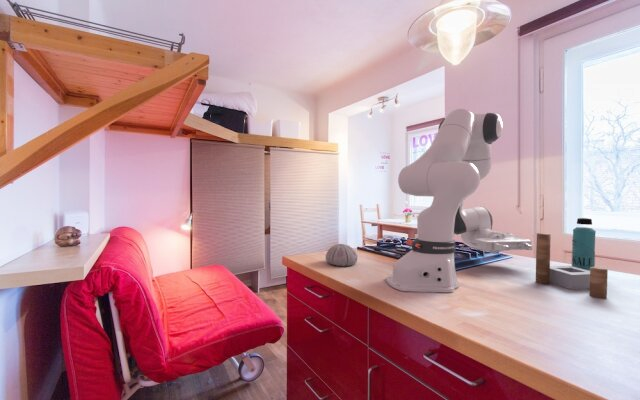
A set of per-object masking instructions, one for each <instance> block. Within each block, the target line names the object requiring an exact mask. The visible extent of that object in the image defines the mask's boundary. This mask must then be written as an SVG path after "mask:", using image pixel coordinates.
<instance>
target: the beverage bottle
mask: <svg viewBox="0 0 640 400" xmlns="http://www.w3.org/2000/svg"><path fill="white" fill-rule="evenodd" d="M592 221H593V220H592V218H586V217H579V218H577V221H576V225H586V227H584V226H576V227H575V228H573V229H572V242H571V243H572V244H571V245H572V249H571V266H573V267H577V268H581V269H585V270H588V271H590V267H595V265H596V249H595V248H596V230H595V229H593V228H592V227H587V226H588V225H589V226H591V225H593V222H592Z"/></svg>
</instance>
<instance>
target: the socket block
mask: <svg viewBox="0 0 640 400" xmlns="http://www.w3.org/2000/svg"><path fill="white" fill-rule="evenodd" d="M549 283H551V284H554V285H557V286H560V287H564V288H566V289H568V290H572V291H573V290H590V271H588V270H585V269H581V268H577V267H573V266H572V265H550V280H549Z"/></svg>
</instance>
